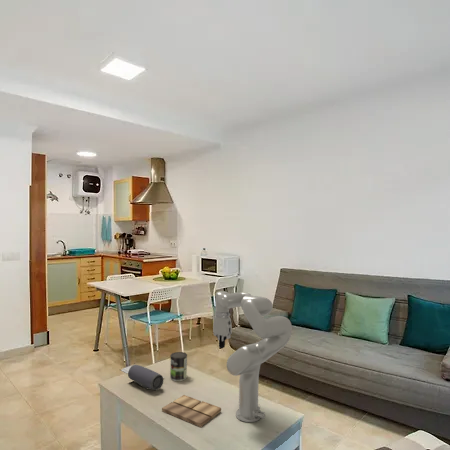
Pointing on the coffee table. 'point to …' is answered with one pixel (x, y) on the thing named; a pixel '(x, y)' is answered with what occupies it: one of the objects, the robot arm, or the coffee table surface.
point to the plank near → (207, 409)
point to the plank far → (187, 402)
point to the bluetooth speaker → (145, 377)
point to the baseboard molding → (128, 370)
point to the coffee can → (178, 366)
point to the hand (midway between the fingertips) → (221, 347)
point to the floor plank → (186, 414)
